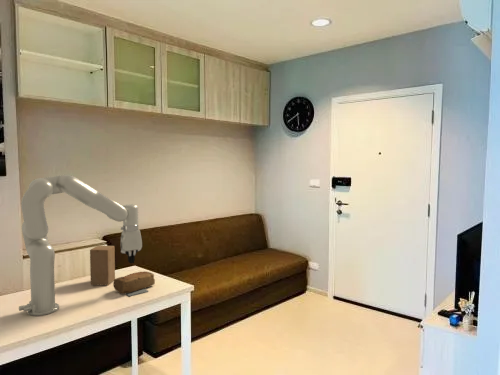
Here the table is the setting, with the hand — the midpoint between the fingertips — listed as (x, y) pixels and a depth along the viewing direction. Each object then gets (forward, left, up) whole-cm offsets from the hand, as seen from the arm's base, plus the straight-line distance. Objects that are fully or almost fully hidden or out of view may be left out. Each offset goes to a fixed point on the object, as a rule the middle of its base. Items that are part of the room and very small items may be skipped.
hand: (131, 262), depth 192 cm
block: (-8, 0, -11) cm, 13 cm away
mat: (+1, 0, -15) cm, 15 cm away
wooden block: (-6, +23, -16) cm, 28 cm away
